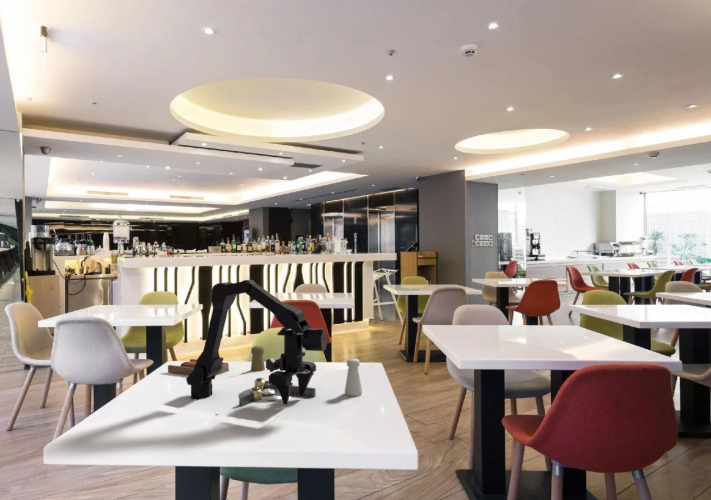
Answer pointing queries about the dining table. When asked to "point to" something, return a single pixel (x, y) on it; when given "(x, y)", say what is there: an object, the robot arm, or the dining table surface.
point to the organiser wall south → (223, 369)
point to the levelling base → (267, 399)
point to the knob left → (263, 384)
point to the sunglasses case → (188, 364)
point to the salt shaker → (353, 378)
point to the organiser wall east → (196, 360)
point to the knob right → (308, 392)
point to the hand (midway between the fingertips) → (293, 400)
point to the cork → (257, 359)
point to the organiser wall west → (180, 370)
